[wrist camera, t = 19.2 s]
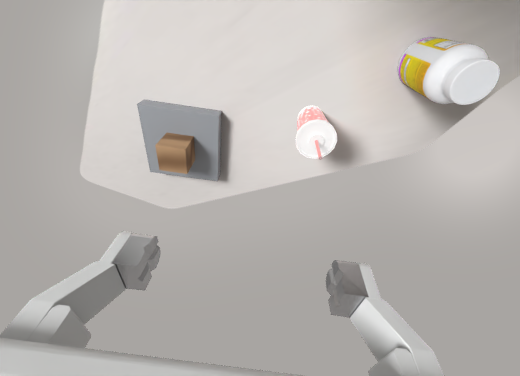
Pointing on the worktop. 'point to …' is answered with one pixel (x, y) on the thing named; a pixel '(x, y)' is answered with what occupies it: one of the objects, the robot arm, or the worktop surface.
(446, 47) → the supplement bottle
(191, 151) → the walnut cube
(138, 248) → the robot arm
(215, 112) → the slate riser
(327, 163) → the worktop surface
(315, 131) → the beverage cup
